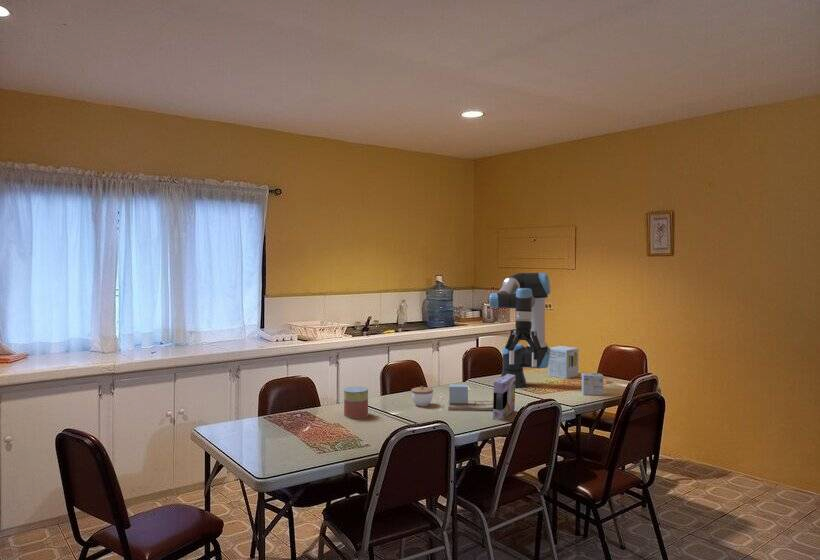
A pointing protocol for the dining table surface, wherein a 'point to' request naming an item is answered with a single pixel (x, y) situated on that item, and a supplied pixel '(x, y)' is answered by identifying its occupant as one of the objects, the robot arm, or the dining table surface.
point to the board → (473, 406)
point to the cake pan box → (504, 396)
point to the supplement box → (563, 362)
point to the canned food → (356, 402)
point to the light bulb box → (592, 384)
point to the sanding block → (458, 394)
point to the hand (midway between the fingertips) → (522, 365)
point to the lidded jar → (422, 395)
